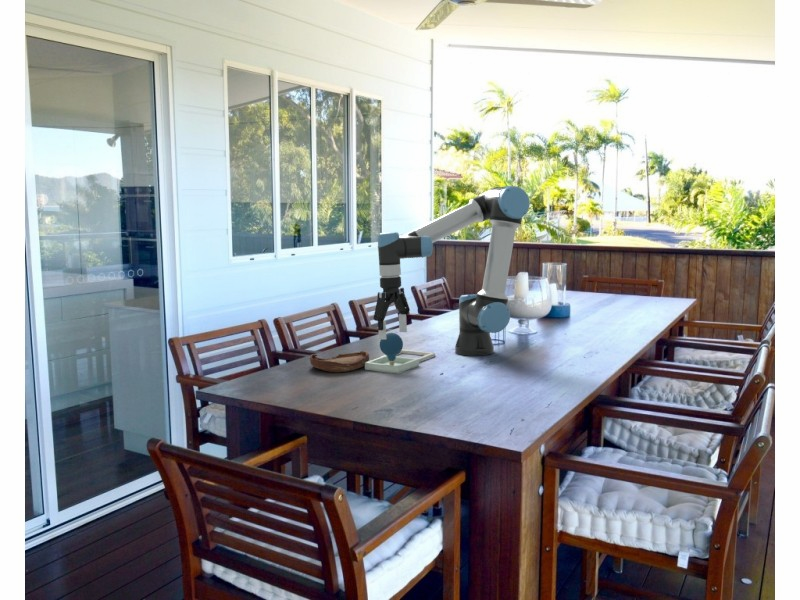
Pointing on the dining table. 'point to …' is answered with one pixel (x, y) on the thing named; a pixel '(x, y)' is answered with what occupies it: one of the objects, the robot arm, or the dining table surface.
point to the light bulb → (391, 346)
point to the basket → (341, 362)
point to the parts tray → (398, 367)
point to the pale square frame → (425, 354)
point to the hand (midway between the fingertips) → (393, 335)
